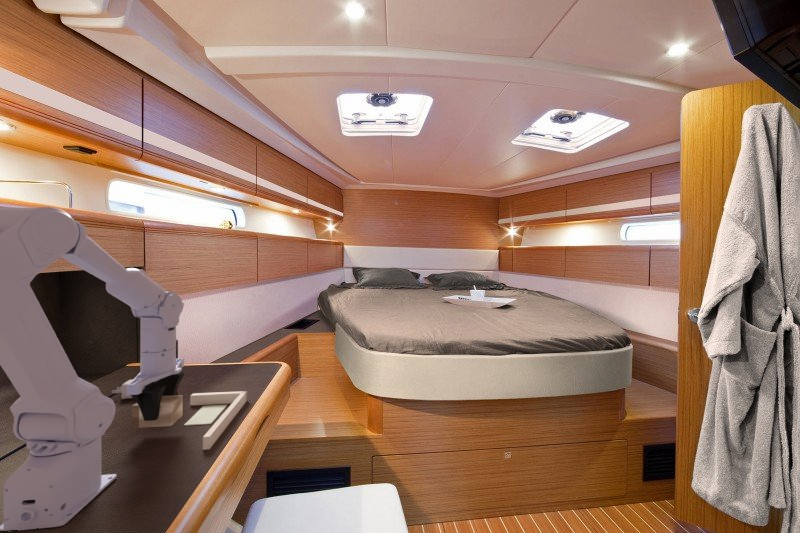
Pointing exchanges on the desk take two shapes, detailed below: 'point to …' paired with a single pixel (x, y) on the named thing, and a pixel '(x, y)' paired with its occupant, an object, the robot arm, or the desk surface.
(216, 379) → the desk surface
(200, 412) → the corner arena
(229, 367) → the desk surface
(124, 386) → the usb wall charger
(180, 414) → the ash block
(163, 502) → the desk surface
